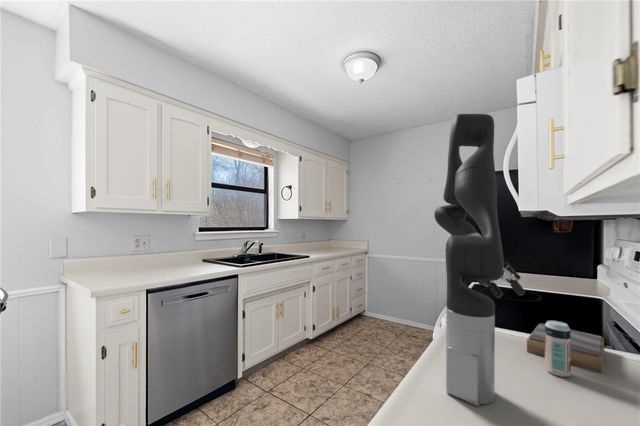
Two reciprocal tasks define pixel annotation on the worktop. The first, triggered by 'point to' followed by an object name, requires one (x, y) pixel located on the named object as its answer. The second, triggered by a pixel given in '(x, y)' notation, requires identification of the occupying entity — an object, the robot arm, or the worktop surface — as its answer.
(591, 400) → the worktop surface
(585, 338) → the dock
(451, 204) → the robot arm
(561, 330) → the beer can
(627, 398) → the worktop surface
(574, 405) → the worktop surface
